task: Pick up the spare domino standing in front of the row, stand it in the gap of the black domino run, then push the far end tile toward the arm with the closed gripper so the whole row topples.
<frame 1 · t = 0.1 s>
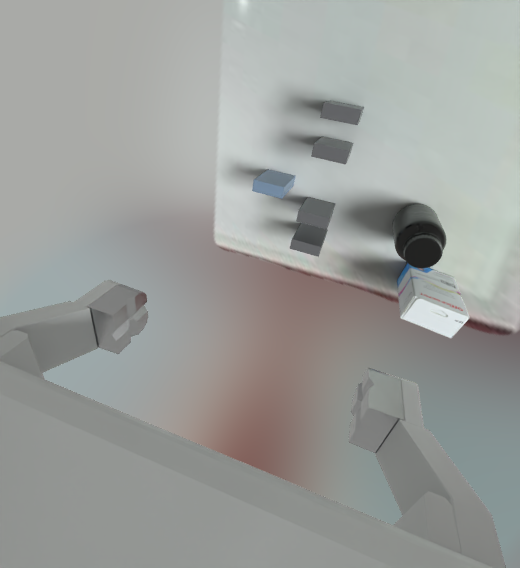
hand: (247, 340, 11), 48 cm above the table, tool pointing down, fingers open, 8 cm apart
domino b: (336, 145, 50), on the table
domino e: (313, 230, 59), on the table
domino a: (345, 110, 48), on the table
ink box: (424, 279, 57), on the table
domino d: (320, 205, 56), on the table
spare domino: (280, 177, 56), on the table
supplement bottle: (414, 222, 53), on the table
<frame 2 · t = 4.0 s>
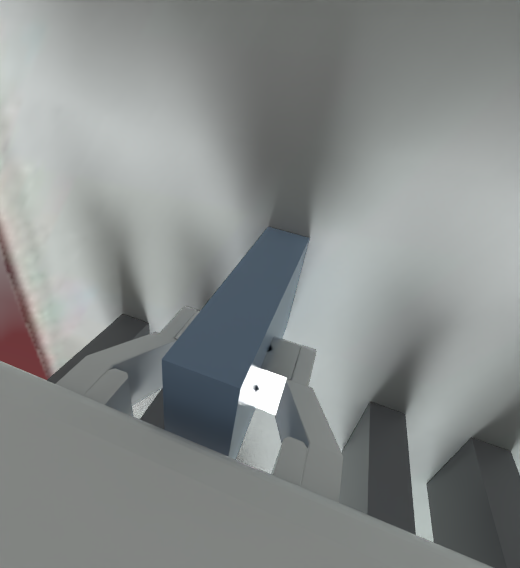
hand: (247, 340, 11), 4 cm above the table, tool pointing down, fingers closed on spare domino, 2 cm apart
domino b: (370, 434, 18), on the table
domino e: (138, 347, 20), on the table
domino a: (464, 469, 17), on the table
domino d: (208, 373, 19), on the table
spare domino: (277, 281, 14), on the table, touching gripper
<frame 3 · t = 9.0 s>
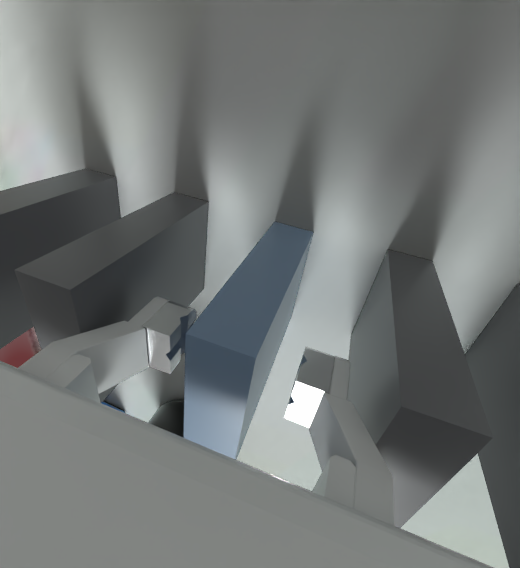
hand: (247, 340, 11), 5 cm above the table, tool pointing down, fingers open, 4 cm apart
domino b: (387, 302, 14), on the table
domino e: (106, 219, 17), on the table
domino a: (505, 337, 13), on the table
domino d: (189, 244, 16), on the table, touching gripper
spare domino: (283, 273, 15), on the table
supplement bottle: (198, 424, 25), on the table
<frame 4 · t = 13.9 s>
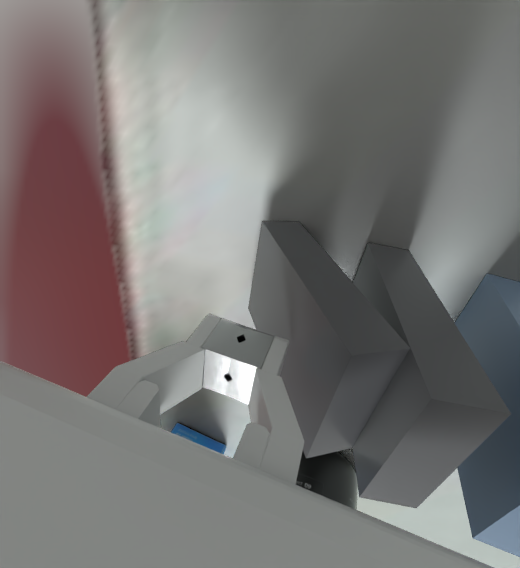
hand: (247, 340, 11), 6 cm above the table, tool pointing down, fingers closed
domino e: (271, 267, 16), on the table, tilted 34°
ink box: (196, 452, 29), on the table
domino d: (368, 292, 15), on the table, tilted 11°
spare domino: (478, 324, 14), on the table
supplement bottle: (311, 461, 24), on the table
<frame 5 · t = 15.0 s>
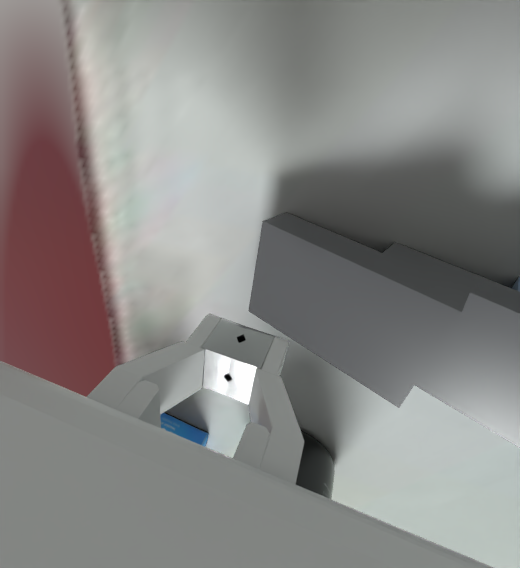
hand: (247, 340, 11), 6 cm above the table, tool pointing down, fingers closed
domino e: (266, 264, 15), point 1 cm above the table, tilted 69°, touching domino d
ink box: (180, 442, 29), on the table
domino d: (368, 295, 15), point 1 cm above the table, tilted 69°, touching domino e, spare domino
supplement bottle: (290, 448, 24), on the table
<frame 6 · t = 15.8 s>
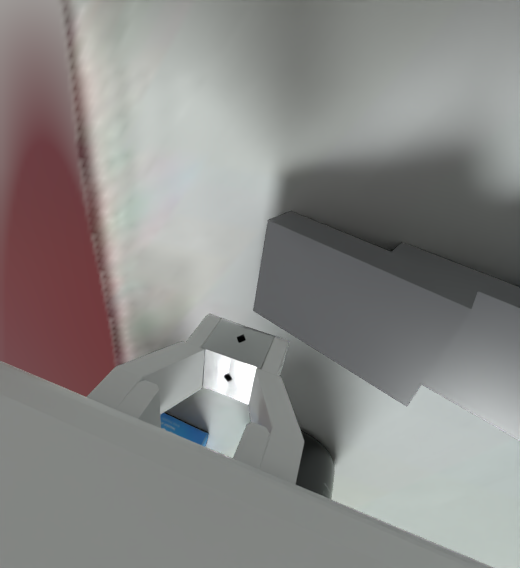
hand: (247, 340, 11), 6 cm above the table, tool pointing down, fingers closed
domino e: (271, 263, 15), point 1 cm above the table, tilted 69°, touching domino d
ink box: (180, 442, 29), on the table
domino d: (375, 295, 14), point 1 cm above the table, tilted 70°, touching domino e, spare domino
supplement bottle: (290, 448, 24), on the table
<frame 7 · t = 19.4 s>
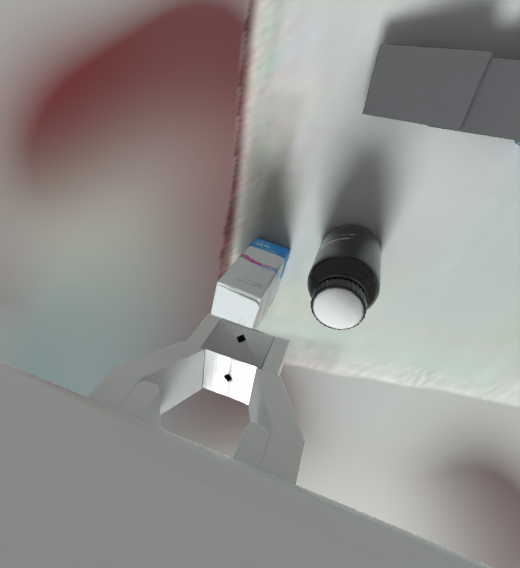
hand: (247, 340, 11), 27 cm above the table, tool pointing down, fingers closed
domino e: (374, 81, 27), point 1 cm above the table, tilted 71°, touching domino d
ink box: (265, 268, 42), on the table
domino d: (440, 92, 26), point 1 cm above the table, tilted 76°, touching domino e
supplement bottle: (349, 250, 37), on the table
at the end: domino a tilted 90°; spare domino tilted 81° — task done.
